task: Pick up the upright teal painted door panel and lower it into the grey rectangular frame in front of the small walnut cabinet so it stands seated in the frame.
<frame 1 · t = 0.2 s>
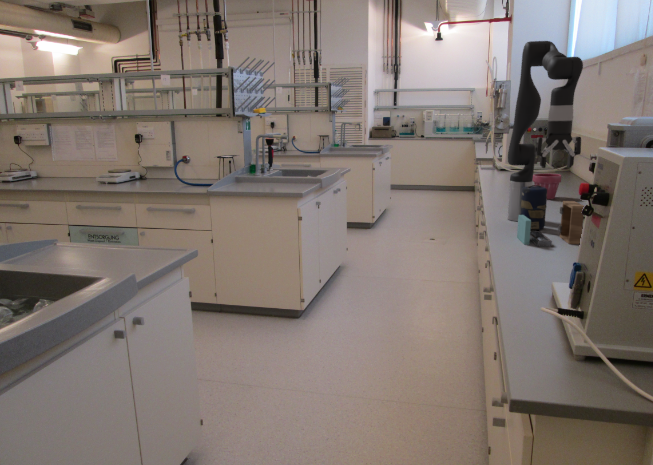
hand: (556, 167, 170), 28 cm above the counter, tool pointing down, fingers open, 8 cm apart
door panel: (522, 241, 183), on the counter
cabinet: (569, 240, 182), on the counter
grey rectangular frame: (538, 241, 182), on the counter
canister: (531, 228, 202), on the counter
plant pot: (545, 198, 269), on the counter
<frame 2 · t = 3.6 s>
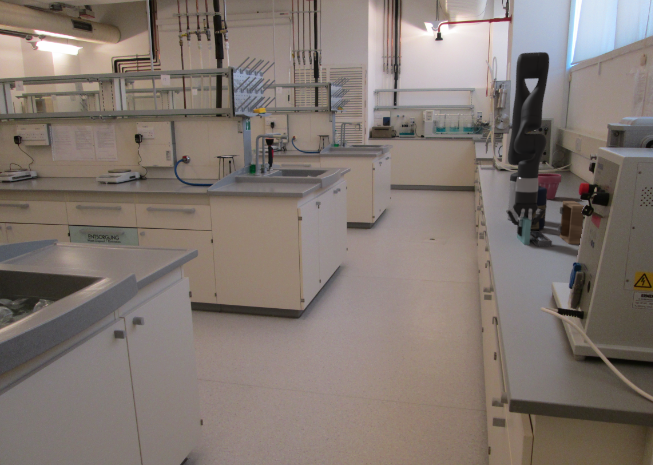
hand: (523, 235, 183), 2 cm above the counter, tool pointing down, fingers closed on door panel, 1 cm apart
door panel: (522, 241, 183), on the counter, touching gripper
everything else where it was.
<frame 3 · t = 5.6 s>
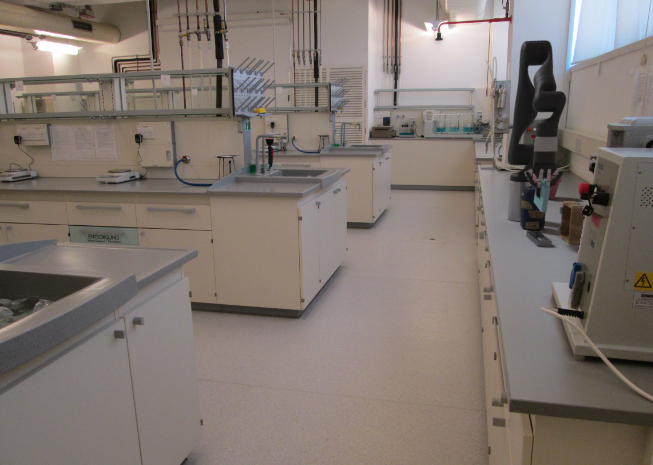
hand: (541, 197, 179), 16 cm above the counter, tool pointing down, fingers closed on door panel, 1 cm apart
door panel: (539, 206, 180), point 13 cm above the counter, tilted 11°, touching gripper
everything else where it was.
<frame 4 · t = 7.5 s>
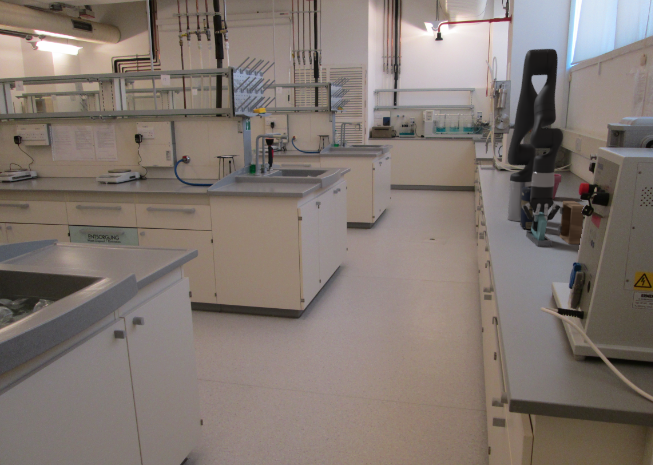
hand: (538, 230, 182), 4 cm above the counter, tool pointing down, fingers closed
door panel: (537, 236, 184), point 1 cm above the counter, tilted 15°
everything else where it was.
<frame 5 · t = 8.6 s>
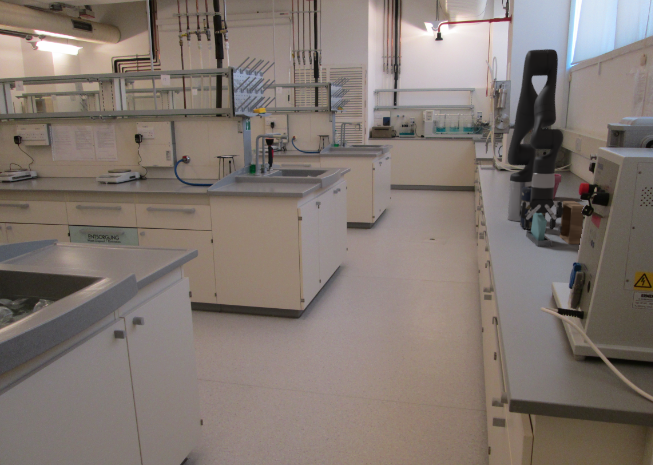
hand: (539, 229, 181), 5 cm above the counter, tool pointing down, fingers open, 8 cm apart
door panel: (536, 237, 184), point 1 cm above the counter, tilted 12°, touching grey rectangular frame
everything else where it was.
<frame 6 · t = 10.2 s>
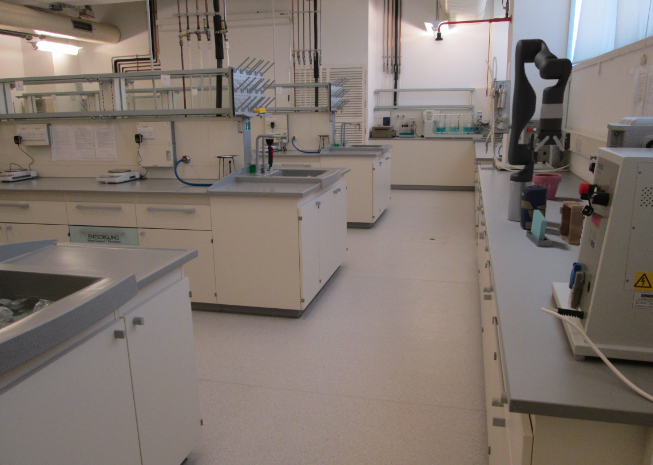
hand: (547, 161, 182), 29 cm above the counter, tool pointing down, fingers open, 8 cm apart
nothing on the counter moved.
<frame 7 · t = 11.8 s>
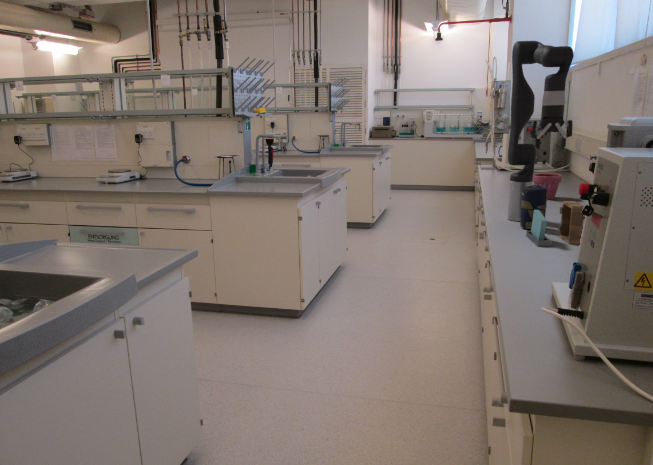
hand: (549, 148, 184), 33 cm above the counter, tool pointing down, fingers open, 8 cm apart
nothing on the counter moved.
at the end: door panel 1.9 cm off-centre on the grey rectangular frame, point 1.0 cm above the grey rectangular frame's base; door panel tilted 12°; the gripper is holding nothing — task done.
